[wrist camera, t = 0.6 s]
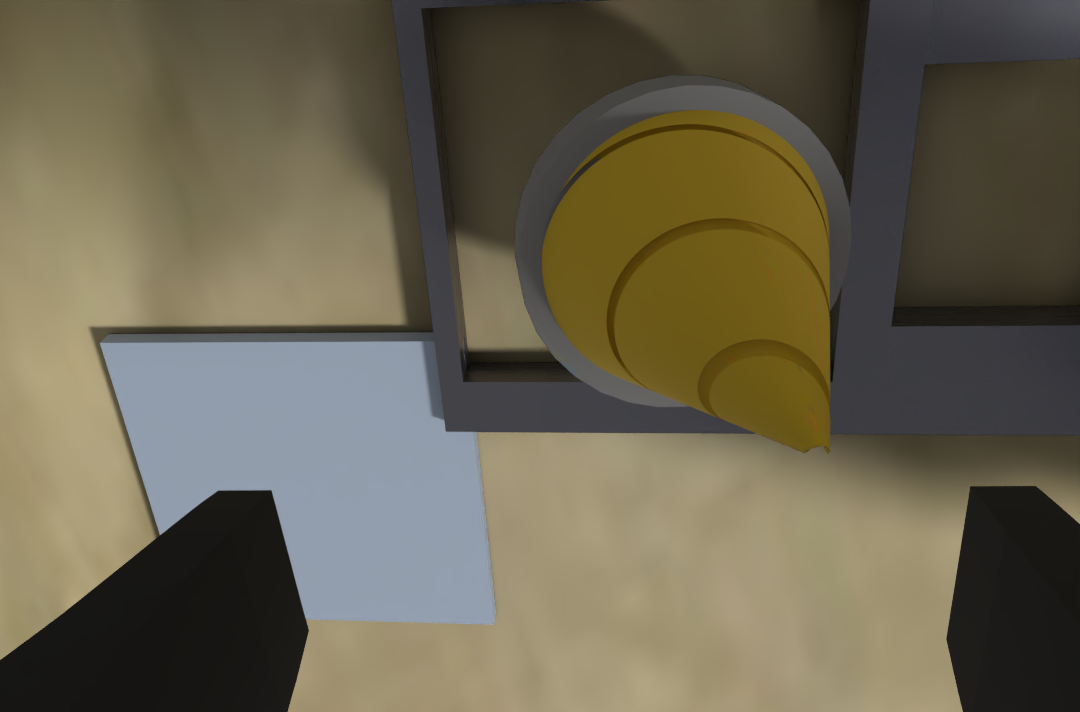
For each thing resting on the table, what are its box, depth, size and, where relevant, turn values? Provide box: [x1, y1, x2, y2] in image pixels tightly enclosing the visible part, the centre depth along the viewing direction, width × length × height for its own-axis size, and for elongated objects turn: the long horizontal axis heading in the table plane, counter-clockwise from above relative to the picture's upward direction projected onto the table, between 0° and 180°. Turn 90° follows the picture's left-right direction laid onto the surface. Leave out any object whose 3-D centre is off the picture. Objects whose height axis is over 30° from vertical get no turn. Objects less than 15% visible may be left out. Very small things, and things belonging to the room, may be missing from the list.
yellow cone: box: [515, 75, 852, 453], centre depth 15 cm, size 5×5×10 cm
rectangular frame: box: [391, 0, 1080, 435], centre depth 19 cm, size 14×10×1 cm
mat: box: [100, 332, 496, 624], centre depth 24 cm, size 8×8×1 cm
